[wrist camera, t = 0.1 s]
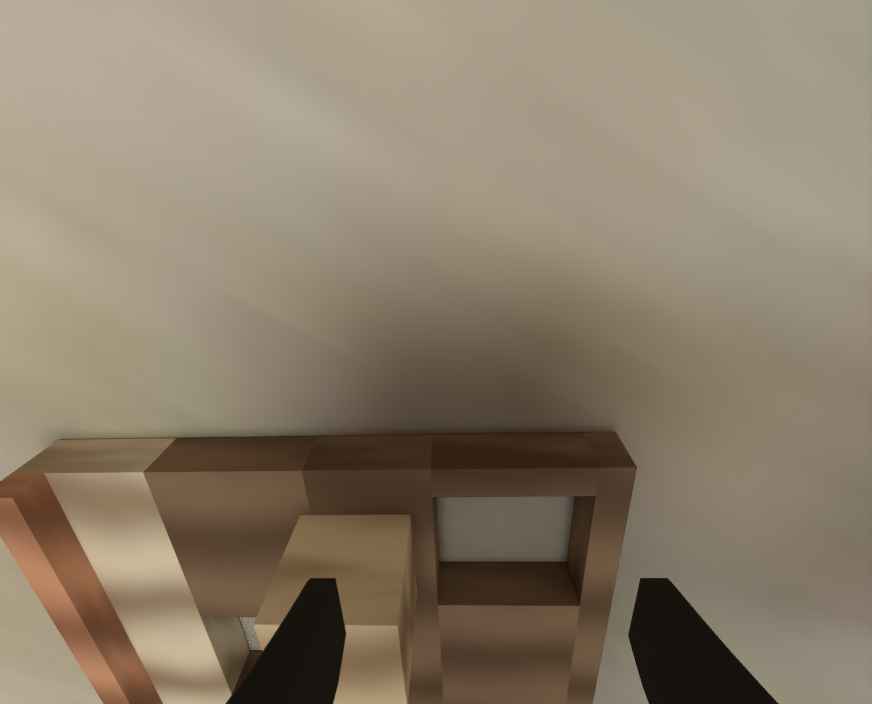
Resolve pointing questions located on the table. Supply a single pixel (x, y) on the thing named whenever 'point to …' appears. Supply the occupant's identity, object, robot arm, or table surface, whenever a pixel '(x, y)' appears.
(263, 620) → the beech block
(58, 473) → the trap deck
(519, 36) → the table surface
